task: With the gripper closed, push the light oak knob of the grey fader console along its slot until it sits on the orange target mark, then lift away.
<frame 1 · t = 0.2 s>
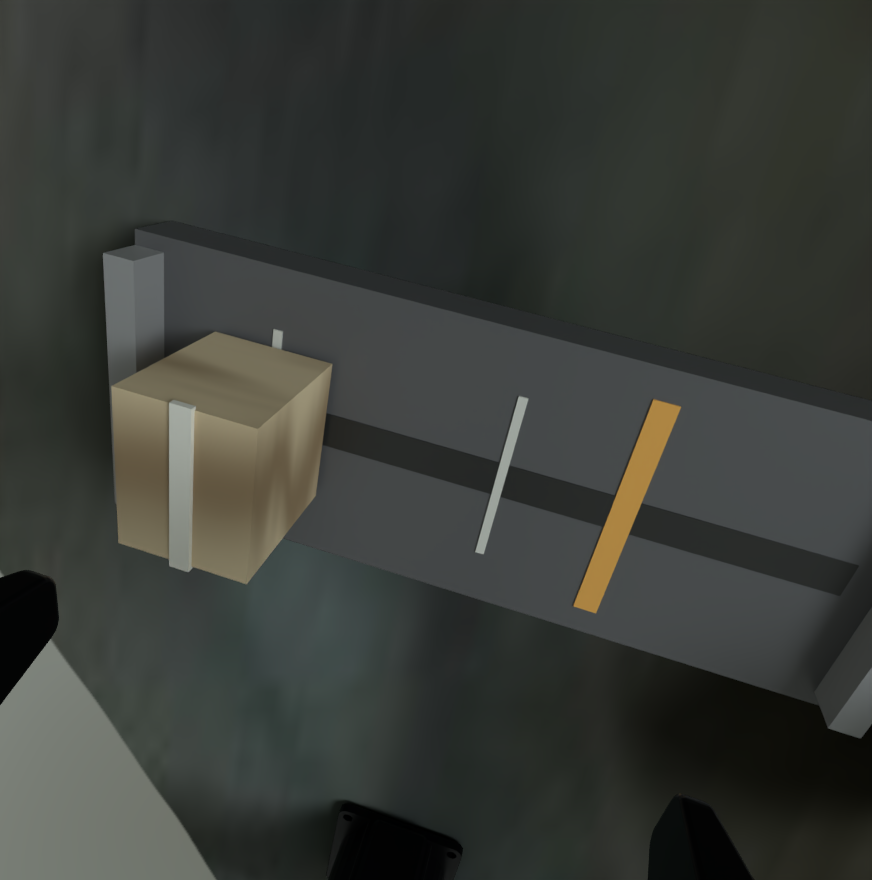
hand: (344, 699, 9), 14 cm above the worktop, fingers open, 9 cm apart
fader knob: (228, 450, 19), point 5 cm above the worktop, slide at 8.0 cm
fader console: (508, 452, 23), on the worktop
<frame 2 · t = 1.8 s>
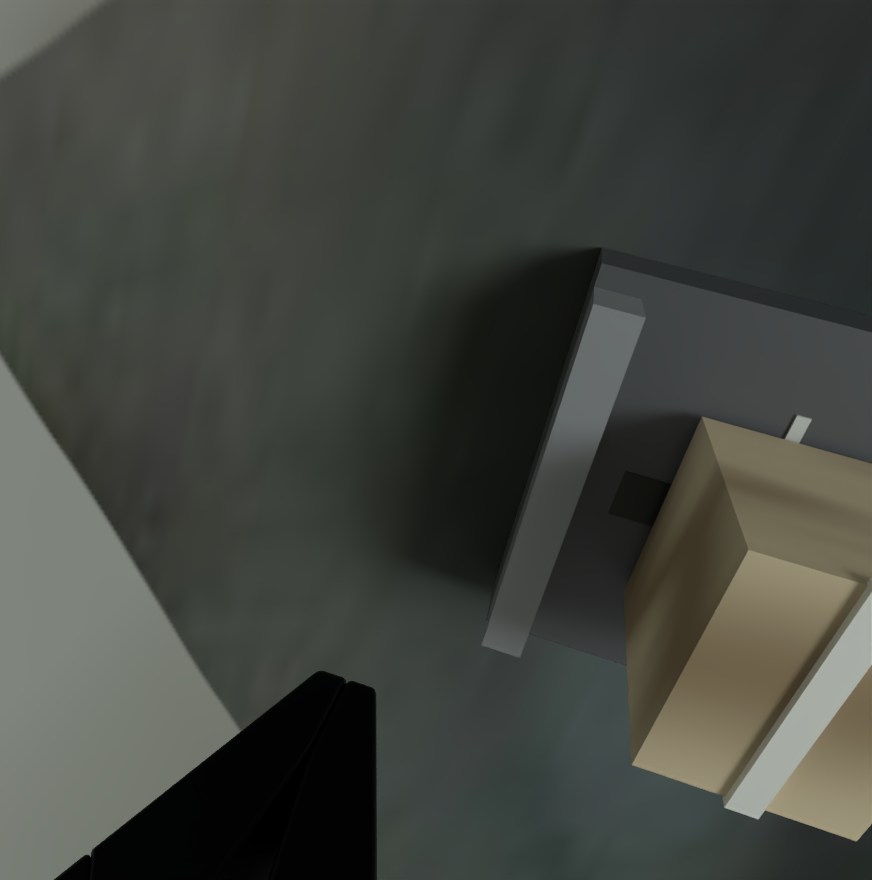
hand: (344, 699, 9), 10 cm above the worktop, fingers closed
fader knob: (772, 610, 13), point 5 cm above the worktop, slide at 8.0 cm
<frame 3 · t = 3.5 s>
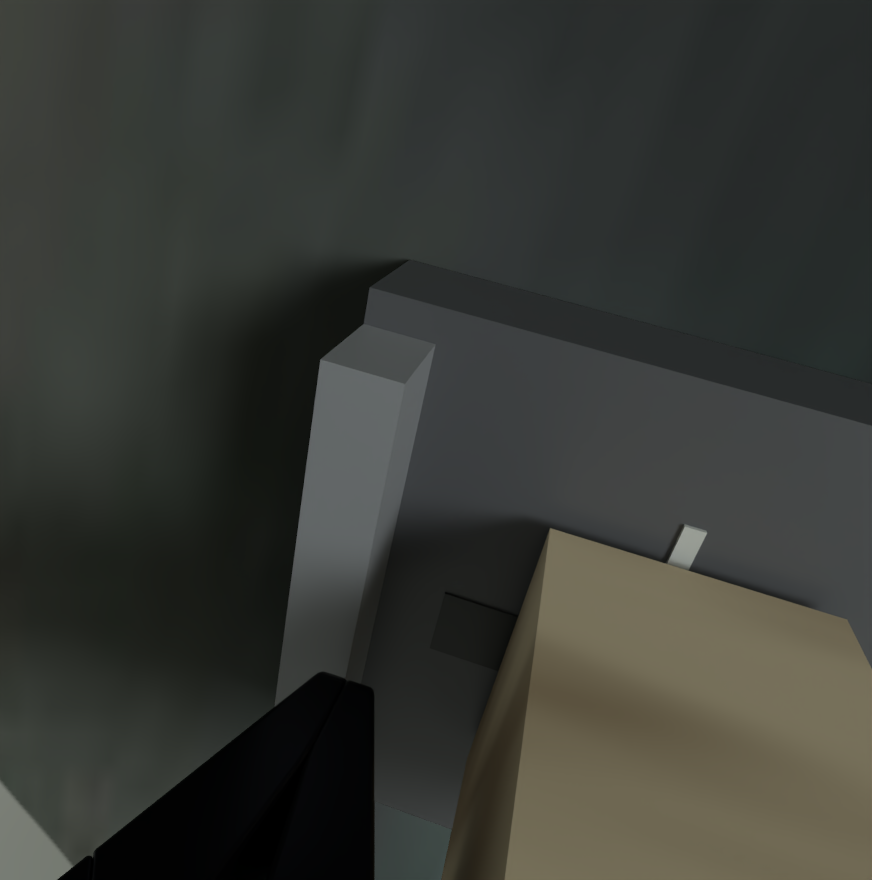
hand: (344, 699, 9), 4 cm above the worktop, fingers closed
fader knob: (639, 868, 8), point 5 cm above the worktop, slide at 7.8 cm, touching gripper
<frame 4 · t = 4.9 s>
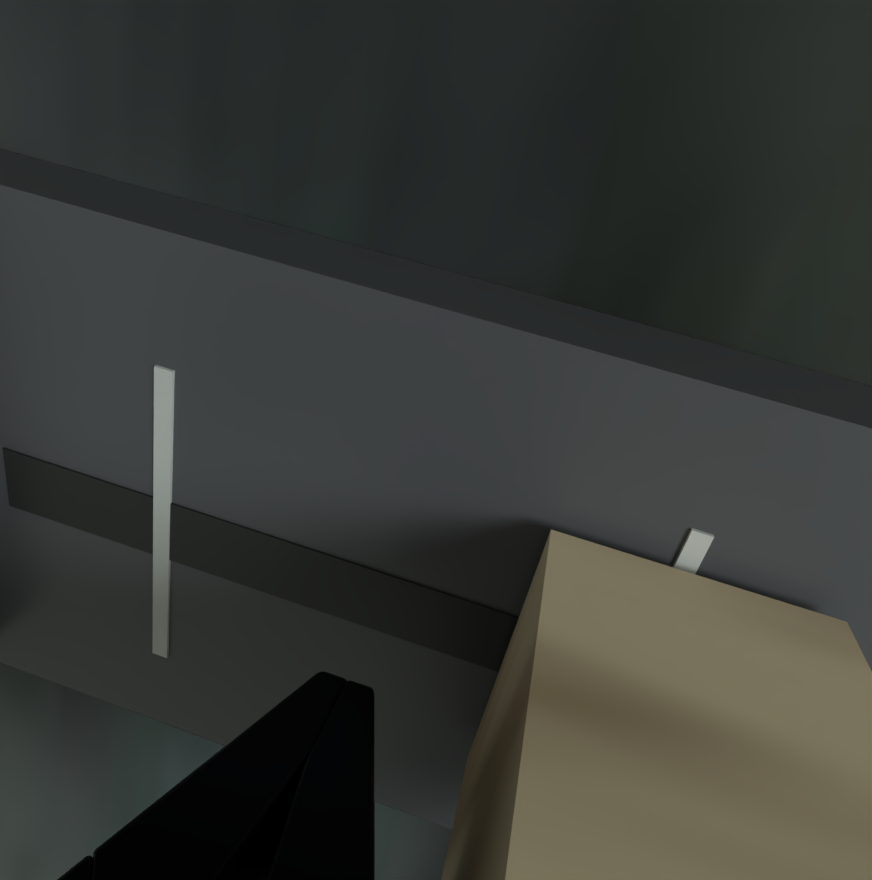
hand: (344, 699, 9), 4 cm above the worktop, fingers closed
fader knob: (638, 869, 8), point 5 cm above the worktop, slide at -0.1 cm, touching gripper
fader console: (622, 601, 12), on the worktop
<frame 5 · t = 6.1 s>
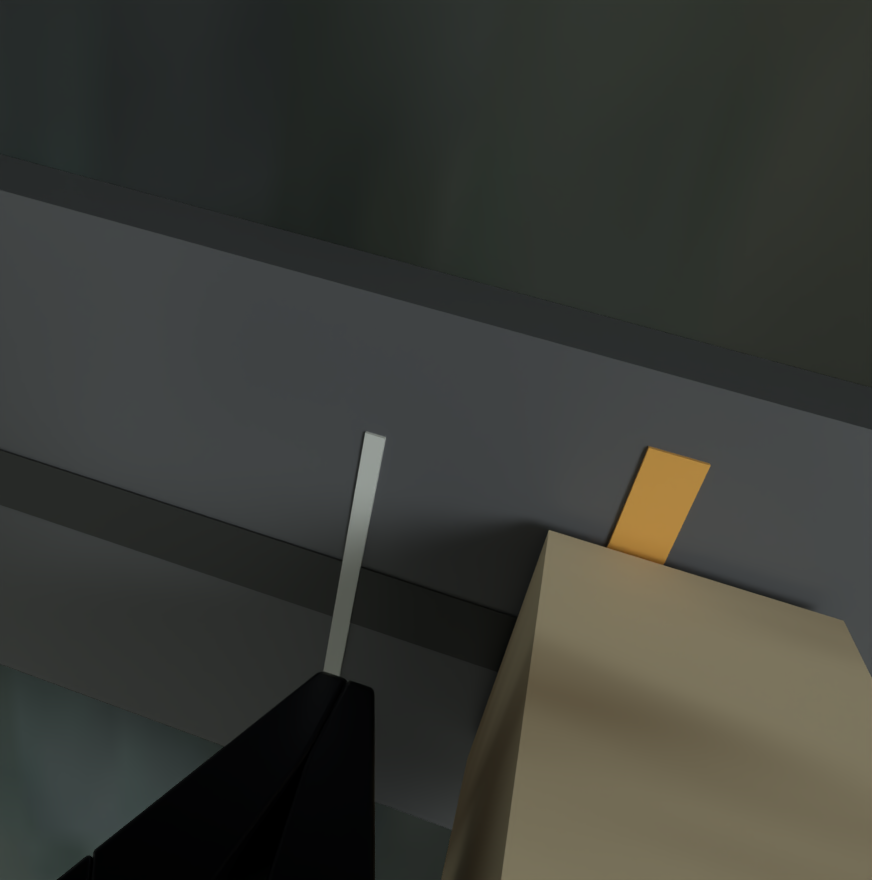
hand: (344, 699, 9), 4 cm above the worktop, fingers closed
fader knob: (637, 867, 8), point 5 cm above the worktop, slide at -4.7 cm, touching gripper
fader console: (383, 526, 12), on the worktop
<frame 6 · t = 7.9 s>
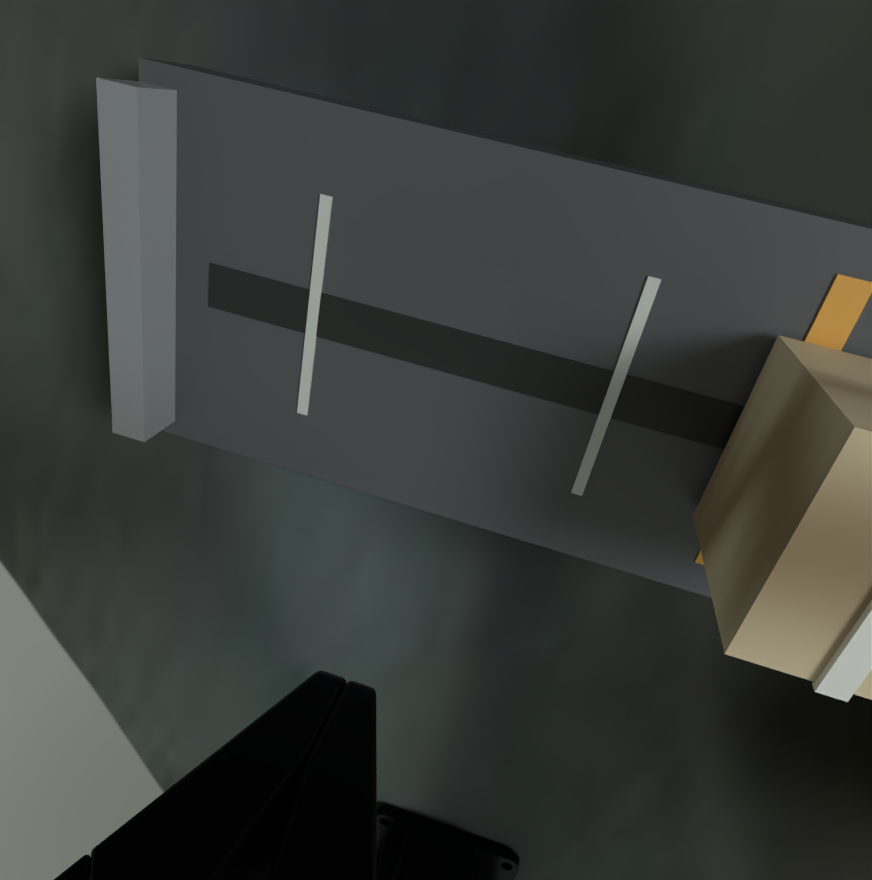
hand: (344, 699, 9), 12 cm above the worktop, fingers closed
fader knob: (853, 512, 13), point 5 cm above the worktop, slide at -4.9 cm
fader console: (611, 368, 18), on the worktop
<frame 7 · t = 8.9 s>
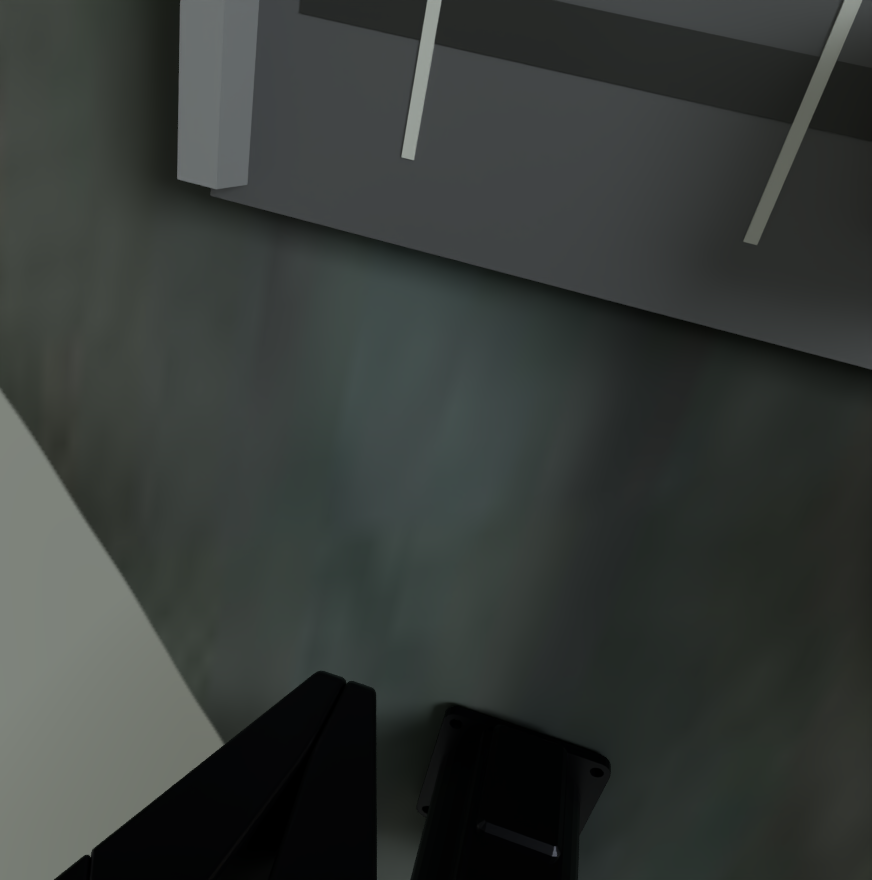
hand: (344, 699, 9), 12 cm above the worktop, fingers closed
fader console: (788, 97, 15), on the worktop
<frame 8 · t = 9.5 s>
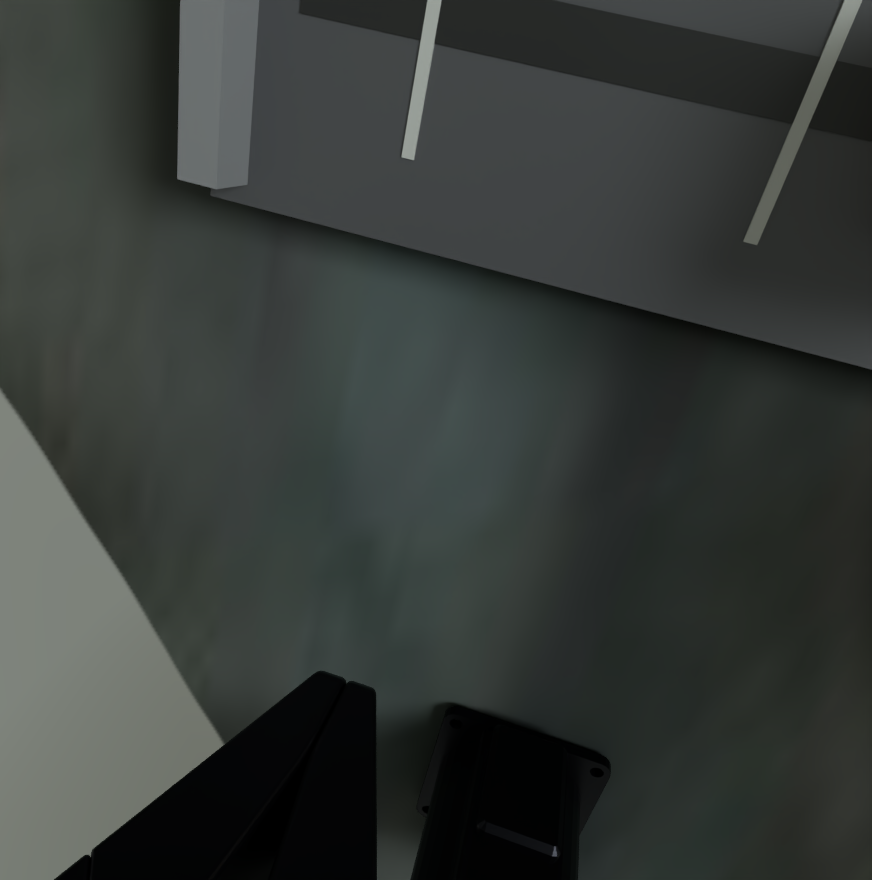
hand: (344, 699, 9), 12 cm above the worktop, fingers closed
fader console: (788, 97, 15), on the worktop
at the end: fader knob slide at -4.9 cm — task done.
